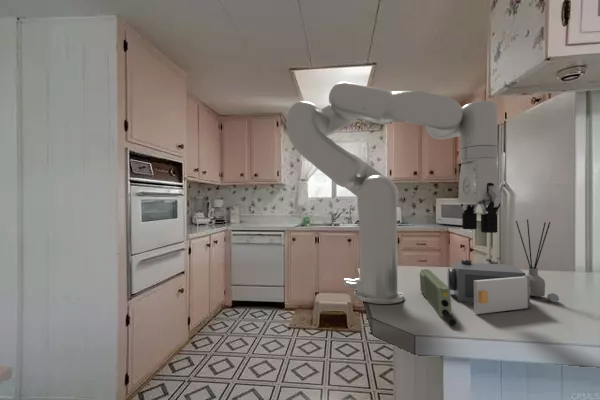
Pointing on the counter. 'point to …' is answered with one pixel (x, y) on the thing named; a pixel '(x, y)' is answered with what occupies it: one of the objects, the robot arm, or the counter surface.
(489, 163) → the robot arm
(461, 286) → the camera housing
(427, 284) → the handheld radio
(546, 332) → the counter surface
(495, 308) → the side door
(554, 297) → the reed diffuser
